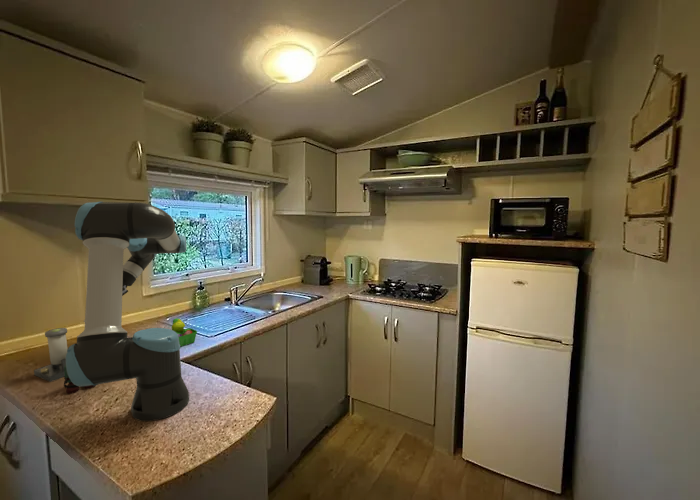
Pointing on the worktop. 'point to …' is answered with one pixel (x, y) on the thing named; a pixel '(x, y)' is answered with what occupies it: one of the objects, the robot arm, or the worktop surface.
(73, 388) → the binoculars
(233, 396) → the worktop surface
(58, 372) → the tribrach base
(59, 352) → the grey lidded cylinder
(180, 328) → the fruit basket
